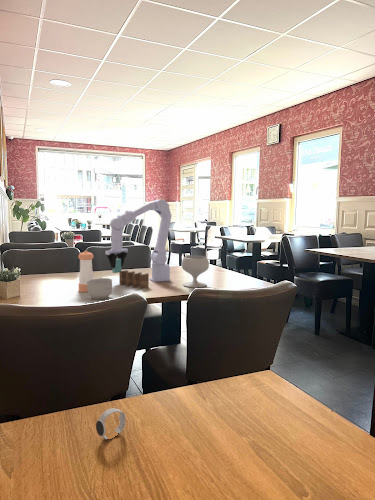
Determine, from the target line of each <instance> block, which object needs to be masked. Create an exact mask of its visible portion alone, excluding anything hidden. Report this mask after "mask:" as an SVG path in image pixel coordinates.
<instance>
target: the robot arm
mask: <svg viewBox="0 0 375 500" xmlns="http://www.w3.org/2000/svg"><path fill="white" fill-rule="evenodd" d="M170 209H171V208H170V204H169V203H168V201H167V200H165V199H163V198H161V199H154V200H151V201H149V202H147V203H145V204H144V205H142V206H140V207H138V208H137V209H135V210H125V211H124V213H123V214H121V215H117V217H113V218H112V219H111V220H110V222H109V225H110V227H111V231H110V240H111V241H110V244H111V248H110V249H109V250H105V255H106V257H107V259H108V261H109V264H110V267H111V269H113V268H115V266H116V259H119V258H120V259H121V268H122V267H123V266H124V263H125V259H126V257H127V255H128V251H129V249H128V248H126V247H125V248H123V228H124V226H128V225H129V224H130V223H132V222H134V221H136V218H137V217H139V216H141V215H142V214H145V213H147V212H149V211H155V213H157V214H158V215H159V217H160V223H159V229H158V234H157V237H156V245H155V247H154V248H153V252H152V253H151V254H150V259H151V261H152V262H151V278H150V277H149V280H150V281H152V282H153V283H157V282H169V281H171V278H170V277H171V269H170V265H169V263H166V262H167V260H168V258H167V250H166V247H167V241H168V237H169V231H170V226H171V221H172V213H171V210H170Z"/></svg>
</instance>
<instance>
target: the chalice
mask: <svg viewBox="0 0 375 500" xmlns="http://www.w3.org/2000/svg"><path fill="white" fill-rule="evenodd" d="M209 262H210V261H209V259H208V257H207V256H205V255H185V256H184V257H182V261H181V268H182V270H183V271H184V272H186V273H188V274H189V275H191V277H192V281H188V282H184V283H183V286H184V287H188V288H195V289H197V288H198V287H199V288H203V287H206V286H207V283H203V282H199V281H198V280H197V279H198V277H199V276H200V275H202V274H203V273H205V272H206V271H208V270H209V267H210V263H209Z"/></svg>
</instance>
